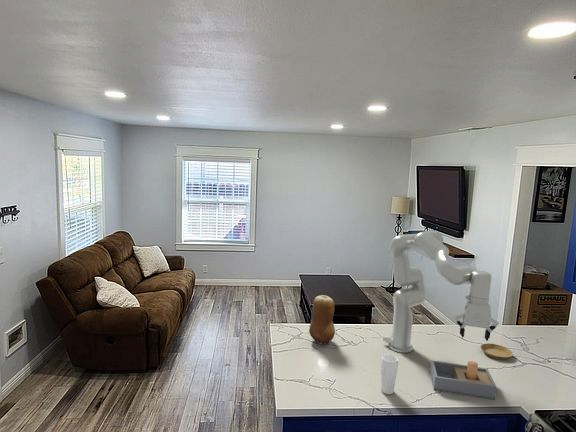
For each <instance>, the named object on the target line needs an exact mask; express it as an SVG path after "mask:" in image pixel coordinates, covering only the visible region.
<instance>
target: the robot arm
mask: <svg viewBox="0 0 576 432" xmlns="http://www.w3.org/2000/svg"><path fill="white" fill-rule="evenodd" d="M420 250H422V252H424V253H425V254H426V255H427V256H429V258H431V259H432V260H433V261H434V263H435V267H436V269H437V272H438V273H439V275H440V276H441V277H442V278H444V279H445V280H446V281H447V282H449V283H450V284H452V285H454V286H462V285H467V284H468V285H469V284H470V286H469V287H470V288H469V294H468V295H466V296H465V300H467V301H466V304H465V307H464V311H463V313H460V314H458V315H455V316H454V319H455V321H456V324H457V325H458V326H459V335H460V336H461V338H464V337H465V330H466V329H465V327H466V326H467V327H474V328H482V329H485V330H484V339H485V341H487V342H488V341H489V339H491V338H490V337H491V333H492V331H494V330H495V329H497V327H498V326H499V321H497V320H496V319H494V318H493V317H491V316H492V315H491V314H492V313H491V312H492V311H491V304H490V303H489V300H490V292H491V285H492V274H491V273H490V272H489V271H485V270H480V269H478V268H476V267H473V266H470V265H466V266H465V265H464V266H458V267H456V266H454V265H453V264H452V263H451V262H450V261H449V260H448V259H447V258H448V257H449V253H450V249H449V248H448V247H447V246H446V245H445V244H444V237H443V235H442V234H441V233H440V232H439V231H437V230H426V231H420V232H419V233H410V234H409V233H408V234H401V235H400V234H399V235H397V236H395V237H393V238H392V240H391V242H390V244H389V252H390V256H391V262H392V272H393V280H394V283H395V284H396V285H397V286H399V287H405V288H402V289H398V290H396V291H395V292H394V293H393V296H392V302H393V318H392V333H391V335H390V337H386V336H382V341H384V342H385V343H387V344H388V348H389V349H391V350H392V351H395V352H397V353H403V354H404V353H405V354H406V353H411V352H413V350H414V346H413V345H412V344H411V340H412V339H411V338H412V328H413V312H412V310H411V308H412V307H416V306H419V305H422V304H424V302H425V300H426V289H425V281H424V275H423V272H422V270H421V269H420V268H419V267H417V266H411V265H410V258H409V256H408V254H407V252H411V251H420ZM407 286H408V287H407ZM460 319H462V321H460ZM491 323H492V325H491Z"/></svg>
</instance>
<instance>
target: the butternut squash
mask: <svg viewBox="0 0 576 432" xmlns="http://www.w3.org/2000/svg"><path fill="white" fill-rule="evenodd" d="M334 316H335V301H334V300H333V298H331V297H330V296H328V295H323V294H321V295H318V296H315V298H314V299H313V303H312V316H311V322H310V324H309V329H308V331H309V335H310V337H311V339H313V341H315V342H317V343H318V344H320V345H327V344H329V343H331V341H332V340H333V339H334V338H335V334H336V329H335V325H334V321H333V319H334Z"/></svg>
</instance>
